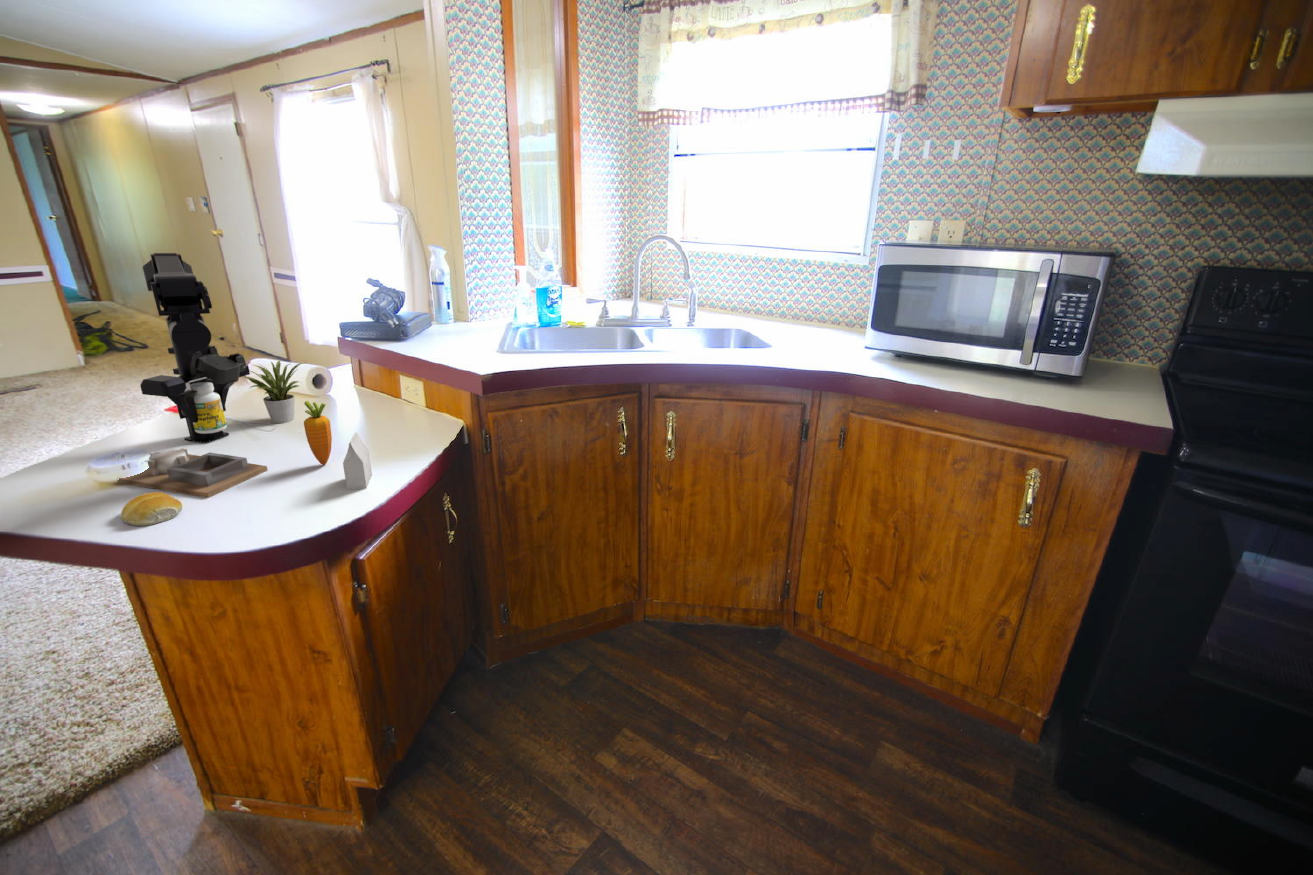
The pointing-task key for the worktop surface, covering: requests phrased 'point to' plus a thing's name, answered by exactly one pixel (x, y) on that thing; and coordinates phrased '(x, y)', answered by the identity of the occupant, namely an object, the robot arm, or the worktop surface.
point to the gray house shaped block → (357, 464)
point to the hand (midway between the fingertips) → (208, 418)
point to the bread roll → (151, 509)
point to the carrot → (318, 432)
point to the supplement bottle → (208, 409)
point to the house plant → (277, 393)
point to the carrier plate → (194, 472)
